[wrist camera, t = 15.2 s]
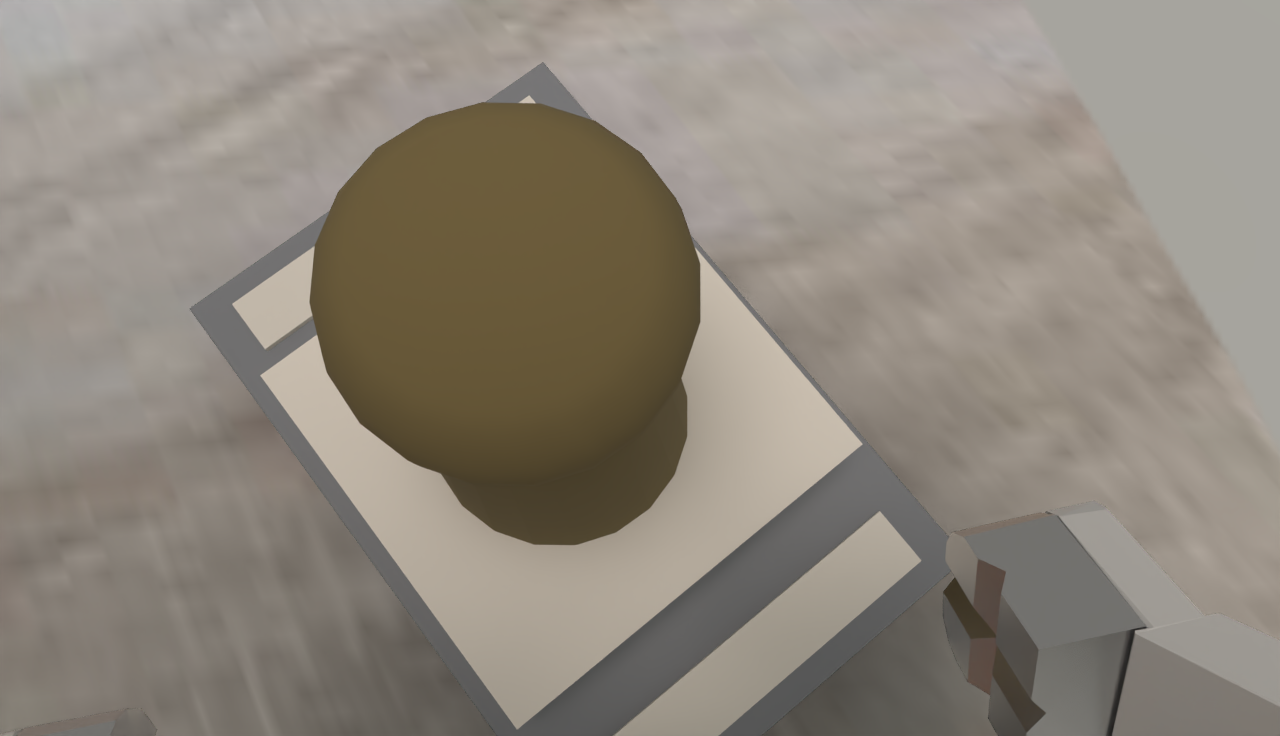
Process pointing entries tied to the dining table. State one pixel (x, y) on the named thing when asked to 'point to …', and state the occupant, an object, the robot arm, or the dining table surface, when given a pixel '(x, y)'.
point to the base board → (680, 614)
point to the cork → (515, 315)
